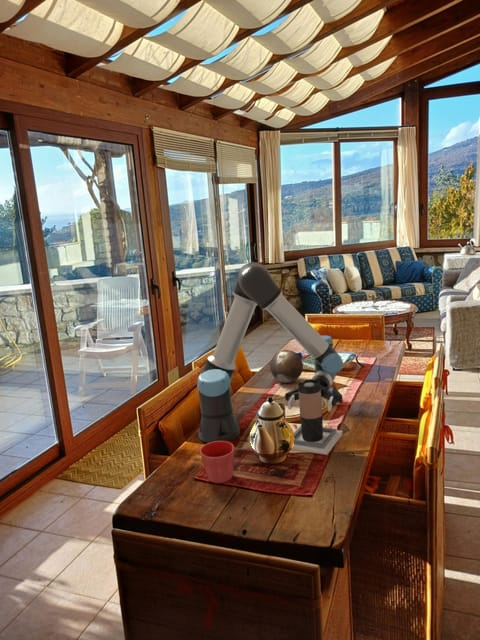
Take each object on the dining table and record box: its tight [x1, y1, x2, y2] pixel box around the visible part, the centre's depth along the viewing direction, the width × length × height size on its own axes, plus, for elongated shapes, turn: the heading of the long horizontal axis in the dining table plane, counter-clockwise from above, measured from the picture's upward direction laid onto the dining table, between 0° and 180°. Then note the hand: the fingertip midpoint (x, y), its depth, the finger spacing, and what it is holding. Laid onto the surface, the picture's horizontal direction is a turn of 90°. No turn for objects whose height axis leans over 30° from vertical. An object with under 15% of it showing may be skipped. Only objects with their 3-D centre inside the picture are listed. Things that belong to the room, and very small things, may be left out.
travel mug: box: [297, 378, 324, 442], centre depth 177 cm, size 8×8×20 cm
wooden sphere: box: [269, 349, 304, 384], centre depth 238 cm, size 15×15×15 cm
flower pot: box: [199, 441, 235, 484], centre depth 161 cm, size 11×11×10 cm
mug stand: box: [292, 424, 343, 456], centre depth 179 cm, size 16×16×2 cm
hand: (308, 406), depth 174 cm, fingers open, 13 cm apart
